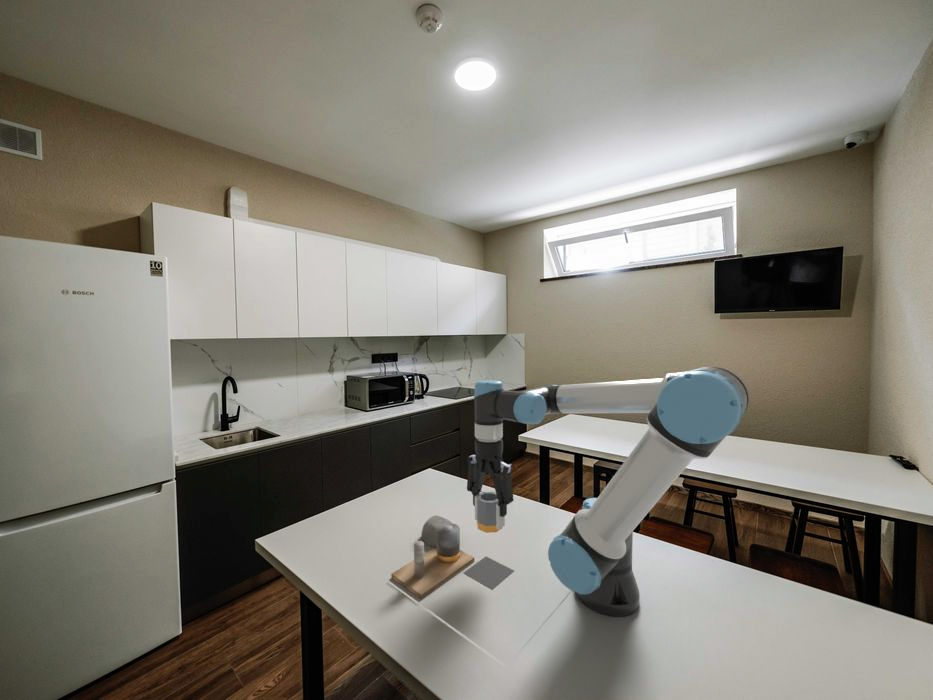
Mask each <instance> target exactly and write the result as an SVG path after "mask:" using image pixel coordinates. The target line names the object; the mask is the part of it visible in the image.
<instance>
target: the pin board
mask: <svg viewBox="0 0 933 700" xmlns="http://www.w3.org/2000/svg"><path fill="white" fill-rule="evenodd" d="M460 529H461V528H460V526H459V525H458V524H456V523H453V522H452V523H444V524H441V525H439V526H438V527H437V547H432V549H430V550H429V551H427V552H425V541H422V540H416V541H415V542H414V544H413V546H414V547H413V560H412V561H410V562H408V563H407V564H405V565H403V566H402V567H400V568H398V569H396V570H395V571H394V572H392V573H391V579H393V581H395V582H397V583H398V584H399V585H401V586H402V587H403V588H405V589H406V590H408V591H409V592H411V593H412V594H414V595H415V596H416V597H417V598H419V599H420V600H423V599H424V598H426V597H427V596H428V595H430V594H431V593H433V592H434V591H436V589H438V588H439V587H442V585H444V584H445V583H446V582H448V581H449V580H451V579H452V578H454V577H455V576H457V575H458V574H460V573H461V572H462V571H463V570H465V569H466V568H468V567H469V566H470V565H472V563H474V562H475V556H473V555H470V554H469V553H467V552H465V551H463V550H461V535H460V534H461V530H460Z"/></svg>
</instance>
